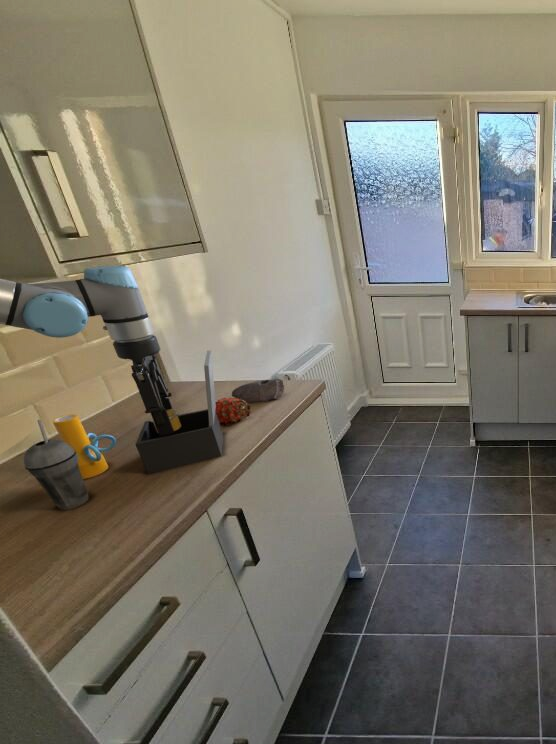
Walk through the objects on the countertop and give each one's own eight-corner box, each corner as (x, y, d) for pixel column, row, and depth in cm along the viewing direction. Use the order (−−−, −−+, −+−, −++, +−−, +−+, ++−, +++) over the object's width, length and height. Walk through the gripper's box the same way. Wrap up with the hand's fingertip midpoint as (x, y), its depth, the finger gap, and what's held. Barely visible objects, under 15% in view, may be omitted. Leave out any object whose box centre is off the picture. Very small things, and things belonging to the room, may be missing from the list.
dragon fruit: (258, 424, 123) (213, 436, 120) (256, 400, 127) (212, 411, 124) (245, 412, 116) (197, 425, 113) (242, 387, 120) (196, 398, 117)
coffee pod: (182, 430, 101) (177, 416, 99) (152, 437, 98) (146, 422, 96) (184, 420, 105) (179, 406, 104) (156, 426, 103) (150, 412, 101)
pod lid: (204, 365, 96) (208, 365, 96) (207, 350, 106) (211, 350, 106) (209, 426, 101) (213, 425, 101) (211, 406, 110) (215, 406, 111)
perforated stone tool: (231, 408, 130) (225, 387, 127) (236, 401, 135) (230, 381, 132) (284, 401, 134) (279, 382, 131) (287, 395, 139) (282, 376, 136)
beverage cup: (41, 514, 86) (-8, 430, 78) (80, 492, 92) (39, 412, 84) (69, 518, 84) (22, 433, 76) (107, 495, 91) (68, 415, 83)
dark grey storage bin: (148, 476, 98) (135, 444, 94) (156, 451, 107) (144, 421, 104) (222, 458, 104) (212, 427, 101) (223, 436, 114) (214, 407, 111)
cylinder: (80, 463, 102) (53, 409, 96) (131, 456, 105) (108, 403, 99) (47, 493, 92) (14, 435, 86) (104, 484, 95) (76, 427, 88)
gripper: (121, 330, 98) (155, 416, 107) (100, 352, 83) (142, 450, 93) (161, 325, 101) (190, 409, 111) (148, 346, 87) (183, 441, 96)
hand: (168, 428), depth 102 cm, fingers closed on coffee pod, 6 cm apart
